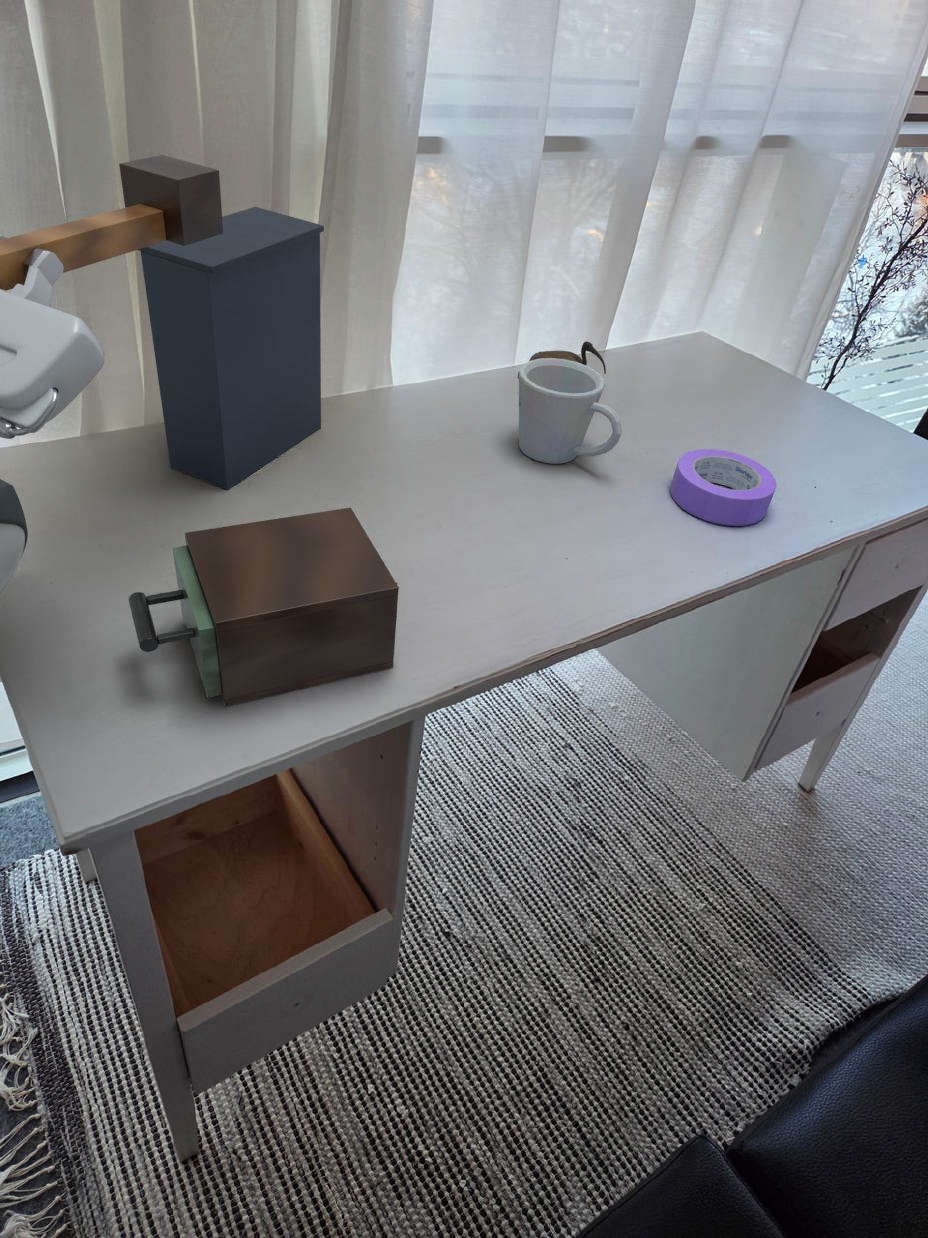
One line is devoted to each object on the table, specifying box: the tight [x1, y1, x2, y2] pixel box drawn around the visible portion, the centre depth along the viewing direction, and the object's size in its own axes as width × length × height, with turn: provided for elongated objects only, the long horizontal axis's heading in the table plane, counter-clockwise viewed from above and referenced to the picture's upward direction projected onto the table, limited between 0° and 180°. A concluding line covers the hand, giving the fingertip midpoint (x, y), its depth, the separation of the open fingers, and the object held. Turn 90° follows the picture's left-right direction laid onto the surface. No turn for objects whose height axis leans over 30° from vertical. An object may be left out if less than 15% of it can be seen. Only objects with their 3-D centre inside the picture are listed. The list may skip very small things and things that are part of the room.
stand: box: [138, 206, 325, 491], centre depth 92 cm, size 18×9×24 cm, turn 153°
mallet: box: [0, 154, 223, 292], centre depth 64 cm, size 21×6×5 cm, turn 153°
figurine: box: [517, 340, 607, 378], centre depth 117 cm, size 14×4×9 cm, turn 40°
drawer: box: [128, 545, 222, 698], centre depth 70 cm, size 18×11×7 cm, turn 114°
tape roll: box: [669, 448, 777, 527], centre depth 100 cm, size 12×12×4 cm
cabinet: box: [184, 507, 400, 708], centre depth 72 cm, size 15×12×9 cm
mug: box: [518, 358, 623, 465], centre depth 102 cm, size 10×15×10 cm
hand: (31, 249), depth 60 cm, fingers closed on mallet, 2 cm apart
